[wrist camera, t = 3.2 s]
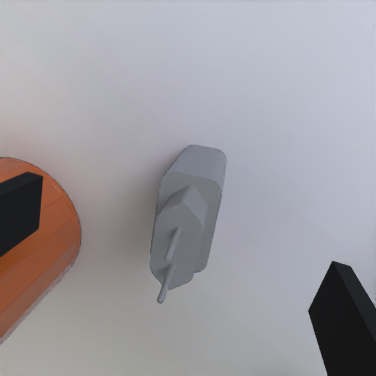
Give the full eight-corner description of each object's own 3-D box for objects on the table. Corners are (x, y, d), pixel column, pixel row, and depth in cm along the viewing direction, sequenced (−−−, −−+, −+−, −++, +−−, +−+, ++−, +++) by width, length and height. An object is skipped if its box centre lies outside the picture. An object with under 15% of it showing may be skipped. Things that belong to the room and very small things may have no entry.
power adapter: (228, 151, 22) (219, 224, 10) (213, 220, 23) (192, 347, 12) (185, 142, 22) (130, 205, 11) (173, 212, 24) (116, 328, 12)
